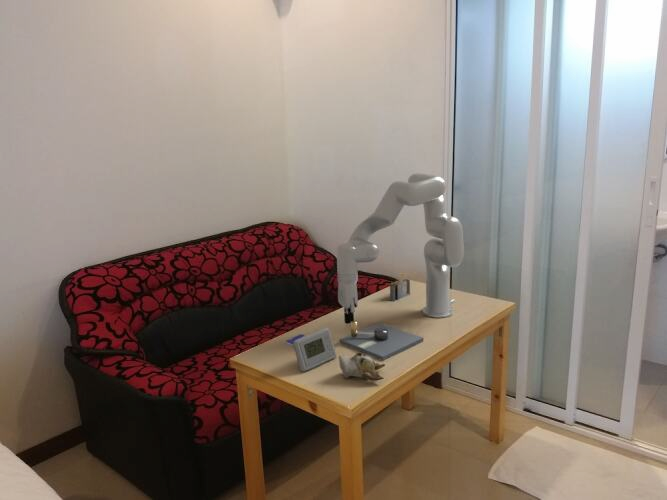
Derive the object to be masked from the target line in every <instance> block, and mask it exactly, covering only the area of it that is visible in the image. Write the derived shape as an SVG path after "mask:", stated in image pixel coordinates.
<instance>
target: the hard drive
mask: <svg viewBox="0 0 667 500" xmlns="http://www.w3.org/2000/svg"><path fill="white" fill-rule="evenodd" d="M305 335H306V334H302V333H301V334H298V335H296V336H293V337H291V338H288V339H286V340H285V343H286V344H288V345H290V346H293V347H294V345H293V342H294V341H295V340H297V339H299V338H302V337H303V336H305Z"/></svg>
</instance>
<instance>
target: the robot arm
mask: <svg viewBox="0 0 667 500" xmlns="http://www.w3.org/2000/svg"><path fill="white" fill-rule="evenodd" d="M446 188H447V187H446V181H445V180H444V179H443V178H442V177H441V176H439V175H433V174H426V173H419V172H417V173H413V174H411V175H410V176H409V177H408V180H407V181H394V182H391V184H390V185H389V186H388V188H387V190H386V192H385V193H384V195H383V196H382V198H381V200H379V203H378V205H377V207H376V208H375V210H373V211H374V212H373V213H372V214H371V215H369V216H368V217H367V218H365V219H364V220H362V221H361V222H360V223H359V224H358V225H357V226H356V227H355V229H354V231H353V232H352V233H351V236H350V237H349V239H348V241H347V243H340V244H338V245H337V246H336V265H337V266H336V268H337V270H336V271H337V282H338V285H337V300H338V303H339V304H340V306H341V307H343V311H344V313H343V314H344V323H345V324H346V325H349V324H350V325H351V321H355V319H354V317H355V316H354V315H355V312H356V309H355V308H357V307H358V305H359V304H358V303H359V302H358V288H357V287H358V286H357V282H358V281H359V275H358V274H359V273H358V269H359V268H358V263H372V262H374V261H375V260H377V259H378V257H379V254H380V250H379V247H378V245H376V244H375V243H373V242H371V241H369V239H370V238H371V237H372V235H374V234H375V233H376V232H378V231H380V230H383V229H385V228H388V227H391V226H393V225H394V224H395V221H396V220H397V218H398V216H399V214H400V213H401V212H402V209H403V208H404V207H405V206H408V207H414V206H415V207H416V206H419V205H423V211H424V212H423V213H424V225H425V230H426V233H427V234H428V235H429V236H432V237H433V238H431V239H429V240H428V241H427V242H425V244H424V247H423V256H424V261H425V269H426V270H425V271H426V273H425V306H424V307H423V308H422V312H421V313H422V314H423V315H424V316H426V317H430V318H437V319H438V318H442V319H443V318H447V317H451V316H452V315H453V313H454V310H453V308H452V307H451V306H452V305H453V304H455V302H456V300H455V299H454V298H451V299H450V268H456V267H458V266H459V265H461V263H462V262H463V260H464V257H465V256H464V255H465V245H464V231H463V229H464V228H463V225H462V223H461V221H460V220H459V218H457V217H455V216H451V215H448V214H447V207H446V200H445V197H444V193H445V191H446Z"/></svg>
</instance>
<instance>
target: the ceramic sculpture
mask: <svg viewBox="0 0 667 500" xmlns="http://www.w3.org/2000/svg"><path fill="white" fill-rule="evenodd" d="M338 360H339V361H338V362H339V367H340V369H341V372H342V374H343V376H344V378H345V379H348V378H349V377H355V378H361V379H366V380H369V381H370V382H376V381H381V380H384V377H383V376H381V375H380V374H379V373H378V372H376V371H378V370H380V369H382V368H384V367H385V366H386V364H385V363H382V364H379V363H377V362H375V360H374V359H373V357H372V356H370V355H367V354H363V352H357V353H355V354H354V355H353V356H352V357H349V356H347V355H338Z"/></svg>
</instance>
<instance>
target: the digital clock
mask: <svg viewBox="0 0 667 500" xmlns="http://www.w3.org/2000/svg"><path fill="white" fill-rule="evenodd" d="M304 335H305V336H303V337H302V338H299V339H297V340H295V341H294V342H293V345H294V346H293V349H294V352H295V355H296V359H297V363H298V366H299V370H300V371H301V372H307V371H309V370H313V369H315V368H317V367H319V366H321V365H324V364H326V363H328V362H330V361H332V360H333V359H335V358H336V357H337V354H336V349H335V346H334V342H333V338H332V335H331V332H330V329H329V328H328V327H325V328H322V329H320V330H319V329H318V330H315V331H313V332H311V333H307V334H304Z"/></svg>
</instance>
